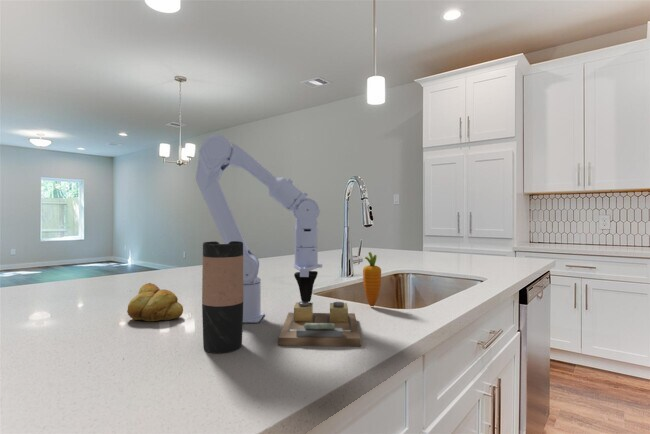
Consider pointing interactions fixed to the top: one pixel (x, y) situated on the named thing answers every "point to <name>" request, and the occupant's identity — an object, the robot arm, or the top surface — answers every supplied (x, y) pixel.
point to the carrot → (372, 280)
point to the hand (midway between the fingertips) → (306, 301)
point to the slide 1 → (303, 311)
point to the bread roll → (154, 304)
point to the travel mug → (222, 296)
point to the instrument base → (320, 331)
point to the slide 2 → (338, 312)
